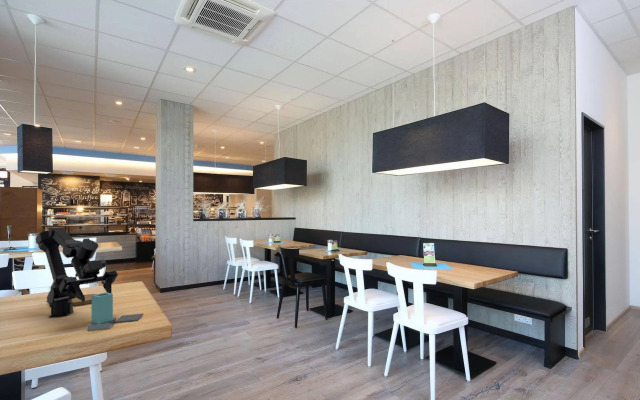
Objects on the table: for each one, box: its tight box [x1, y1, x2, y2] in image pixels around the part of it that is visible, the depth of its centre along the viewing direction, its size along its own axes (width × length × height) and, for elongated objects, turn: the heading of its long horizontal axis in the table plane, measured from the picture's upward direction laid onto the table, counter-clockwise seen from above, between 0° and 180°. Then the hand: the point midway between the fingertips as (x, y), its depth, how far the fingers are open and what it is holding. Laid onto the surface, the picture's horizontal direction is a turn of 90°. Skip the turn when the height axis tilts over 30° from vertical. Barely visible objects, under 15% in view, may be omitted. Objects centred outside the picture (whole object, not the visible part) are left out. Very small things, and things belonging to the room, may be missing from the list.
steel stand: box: [87, 317, 117, 332], centre depth 121 cm, size 7×7×5 cm
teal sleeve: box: [91, 292, 114, 324], centre depth 121 cm, size 5×5×10 cm
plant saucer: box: [72, 293, 97, 307], centre depth 157 cm, size 15×15×3 cm
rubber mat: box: [115, 313, 144, 324], centre depth 129 cm, size 8×8×1 cm
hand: (97, 297), depth 123 cm, fingers open, 9 cm apart
